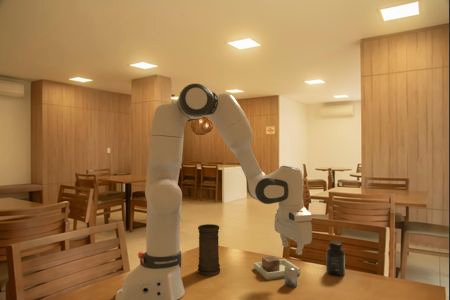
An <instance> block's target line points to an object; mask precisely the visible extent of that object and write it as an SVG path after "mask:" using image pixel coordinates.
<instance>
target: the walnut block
mask: <svg viewBox="0 0 450 300" xmlns="http://www.w3.org/2000/svg"><path fill="white" fill-rule="evenodd" d="M279 260H280V259H278V258H277V257H276V256H273V255H271V256H264V257H261V262H262V268H263V269H264V270H266V271H267V272H275V271H280V262H279Z"/></svg>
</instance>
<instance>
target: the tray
mask: <svg viewBox="0 0 450 300" xmlns="http://www.w3.org/2000/svg"><path fill="white" fill-rule="evenodd" d="M279 262H280V271H275V272H267V271H266V270H264V269H263V268H262V261H259V262H258V261H257V262H253V269H254V270H255V271H256V272H257V273H258V274H260V275H261V276H262V277H263V278H265V280H267V281H268V280H270V281H271V280H275V279H281V278H282V279H283V278H285V267H287V266H293V267H296V268H297V276H300V275H301V268H299V266H297V265H295V264H294V263H292V262H290V261H288V259H285V258H282V259H281V258H280V259H279Z"/></svg>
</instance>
